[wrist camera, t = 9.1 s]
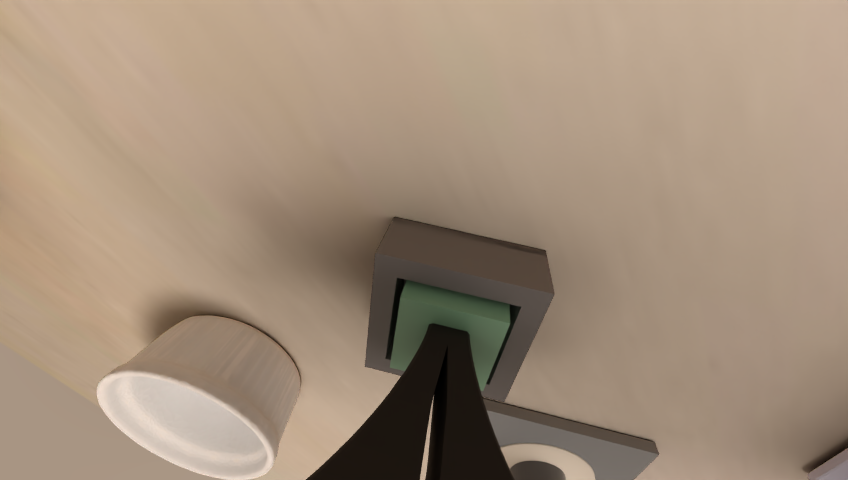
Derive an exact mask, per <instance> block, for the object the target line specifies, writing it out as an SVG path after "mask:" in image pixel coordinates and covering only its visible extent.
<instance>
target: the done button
mask: <svg viewBox="0 0 848 480" xmlns="http://www.w3.org/2000/svg"><path fill="white" fill-rule="evenodd" d="M431 323H434V324H439V325H443V326H447V327H451V328H455V329H459V330H464V331H467V332H468V333H469V334H470V344H471V351H472V357H473V362H474V367H475V371H476V375H477V379H478V383H479V387H480V390H481V391H483V390H484V388H485V385H486V383H487V380H488V378H489V375H490V373H491V370H492V368H493V365H494V363H495V360H496V358H497V355H498V353H499V350H500V348H501V345H502V343H503V340H504V338H505V335H506V333H507V330H508V328H509V325H510V304H507V303H503V302H499V301H495V300H490V299H486V298H482V297H478V296H473V295H469V294H465V293H461V292H456V291H452V290H448V289H444V288H439V287H435V286H431V285H427V284H422V283H418V282H414V281H410V280H406V283H405V286H404V289H403V292H402V294H401V297H400V304H399V310H398V317H397V323H396V330H395V337H394V343H393V350H392V356H391V363H390V368H394V369H398V370H402V371H405V370H406V369H407V367H408V365H409V364H410V362H411V360H412V359H413V357H414V356H415V354H416V352H417V350H418V349H419V347H420V345H421V343H422V341H423V339H424V337H425V334H426V332H427V329H428V326H429V324H431Z"/></svg>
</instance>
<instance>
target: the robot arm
mask: <svg viewBox="0 0 848 480" xmlns="http://www.w3.org/2000/svg"><path fill="white" fill-rule="evenodd" d="M433 396H434V400H433ZM432 400H433V411H432V422H431V433H430V444H429V455H428V464H427V472H426V479H425V480H515V479H514V477H513V475H512V473H511V471H510V469H509V467H508V464H507V462H506V460H505V457H504V455H503V453H502V451H501V448H500V446H499V443H498V441H497V438H496V436H495V433H494V430H493V428H492V425H491V422H490V419H489V416H488V413H487V410H486V407H485V404H484V401H483V397H482V394H481V390H480V387H479V383H478V379H477V375H476V371H475V367H474V362H473V357H472V351H471V344H470V334H469V333H468V332H467V331H464V330H459V329H455V328H451V327H447V326H443V325H439V324H434V323H431V324H429V326H428V329H427V332H426V334H425V337H424V339H423V341H422V343H421V345H420V347H419V349H418V350H417V352H416V354H415V356H414V357H413V359H412V360H411V362H410V364H409V365H408V367H407V369H406V370H405V372H404V373H403V375H402V376H401V377H400V379H399V380H398V382H397V383H396V384H395V386H394V387H393V389H392V390H391V391H390V393H389V394H388V395H387V397H386V398H385V399H384V400H383V402H382V403H381V404H380V405H379V406H378V408H377V409H376V410H375V411H374V412H373V414H372V415H371V416H370V417H369V418H368V419H367V420H366V422H365V423H364V424H363V425H362V426H361V427H360V428H359V429H358V430H357V431H356V433H355V434H354V435H353V436H352V437H351V438H350V439H349V440H348V441H347V442H346V443H345V444H344V445H343V446H342V447H341V448H340V449H339V450H338V451H337V452H336V453H335V454H334V455H333V456H331V457H330V458H329V459H328V460H327V461H326V462H325V463H324V464H323V465H322V466H321V467H320V468H319V469H318V470H316V471H315V472H314V473H313V474H312V475H311V476H310V477H308V478H307V479H306V480H420V474H421V467H422V460H423V454H424V447H425V441H426V434H427V428H428V422H429V415H430V409H431V404H432ZM808 478H809V480H848V448H847V449H845V450H844V451H842V452H841V453H839V454H837V455H836V456H834V457H833V458H831V459H830V460H828V461H827V462H825V463H823V464H822V465H820V466H819V467H817V468H816V469H814V470H813V471H811V472H810V473H809V474H808Z"/></svg>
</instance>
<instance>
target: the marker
mask: <svg viewBox="0 0 848 480" xmlns="http://www.w3.org/2000/svg"><path fill="white" fill-rule="evenodd" d="M510 471H511V473H512V475H513V477H514V479H515V480H566V477H565V474H564V472H563V471H562V470H561V469H559V468H558V467H556V466H554V465H552V464H549V463H546V462H541V461H523V462H519V463H517V464H515V465H513V466H512V467H511V468H510Z"/></svg>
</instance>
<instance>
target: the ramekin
mask: <svg viewBox="0 0 848 480" xmlns="http://www.w3.org/2000/svg"><path fill="white" fill-rule="evenodd" d="M300 386H301V384H300V376H299V373H298V370H297V368H296V366H295V364H294V362H293V361H292V359H291V358H290V357H289V355H288V354H287V353H286V352H285V351H284V350H283V349H282V348H281V347H280V346H279V345H278V344H277V343H276V342H275V341H274V340H272V339H271V338H270V337H268V336H267V335H265V334H264V333H262V332H261V331H259V330H257V329H255V328H253V327H251V326H249V325H247V324H245V323H242V322H240V321H236V320H233V319H229V318H225V317H219V316H211V315H204V316H193V317H189V318H186V319H184V320H183V321H181V322H179V323H177V324H176V325H174V326H173V327H171V328H170V329H168V330H167V331H166V332H164V333H163V334H162V335H160V336H159V337H158V338H157V339H155V340H154V341H153V342H152V343H151V344H149V345H148V346H147V347H146V348H145V349H143V350H142V351H141V352H140V353H138V354H137V355H136V356H135V357H133V358H132V359H131V360H130V361H129V362H127V363H125V364H123V365H121V366H119V367H117V368H116V369H114V370H112V371H111V372H110V373H108V374H107V375H106V376H104V377H103V378H102V379H101V380H100V382H99V383H98V386H97V398H98V401H99V404H100V406H101V408H102V409H103V411H104V413H105V414H106V415H107V416H108V417H109V418H110V420H111V421H112V422H113V423H114V424H115V425H116V426H117V427H118V428H119V429H120V430H121V431H122V432H123V433H125V434H126V435H127V436H128V437H130V438H131V439H133V440H134V441H135V442H136V443H138V444H139V445H141V446H143V447H144V448H145V449H147V450H149V451H150V452H152V453H154V454H156V455H157V456H160V457H161V458H163V459H166V460H167V461H169V462H171V463H173V464H176V465H178V466H180V467H183V468H186V469H188V470H191V471H194V472H196V473H200V474H203V475H206V476H211V477H215V478H220V479H227V480H249V479H253V478H257V477H260V476H262V475H264V474H266V473H267V472H268V471H269V470H270V469H271V468H272V466H273V464H274V462H275V459H276V456H277V453H278V447H279V442H280V439H281V437H282V434H283V432H284V430H285V427H286V425H287V422H288V420H289V418H290V415H291V413H292V410H293V408H294V406H295V403H296V401H297V398H298V395H299V391H300Z"/></svg>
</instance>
